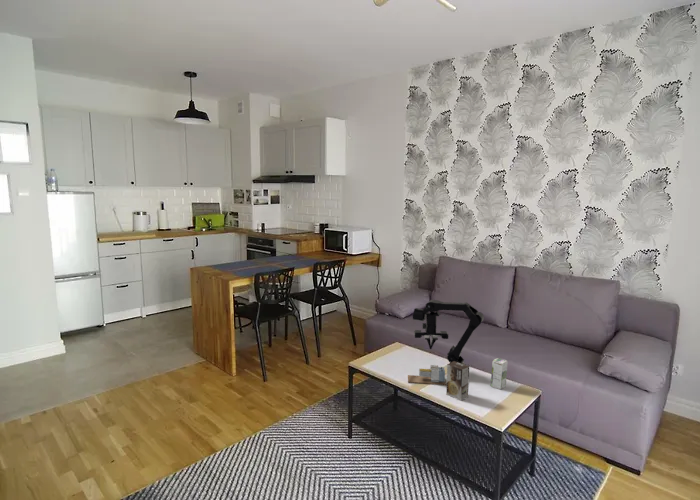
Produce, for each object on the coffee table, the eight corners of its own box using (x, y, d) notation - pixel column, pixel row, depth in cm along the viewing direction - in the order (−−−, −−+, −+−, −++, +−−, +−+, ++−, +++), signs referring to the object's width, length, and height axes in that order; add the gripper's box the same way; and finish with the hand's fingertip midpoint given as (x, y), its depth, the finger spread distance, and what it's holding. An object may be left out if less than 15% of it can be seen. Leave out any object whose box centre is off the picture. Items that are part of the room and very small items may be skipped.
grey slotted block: (431, 381, 223) (431, 370, 222) (430, 376, 229) (430, 365, 228) (438, 382, 222) (439, 370, 221) (437, 376, 229) (438, 365, 228)
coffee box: (468, 397, 209) (470, 366, 206) (461, 401, 204) (462, 369, 202) (453, 390, 215) (454, 360, 213) (445, 394, 211) (446, 363, 209)
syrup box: (495, 383, 224) (497, 357, 222) (506, 386, 220) (507, 360, 218) (490, 386, 220) (491, 360, 218) (501, 390, 216) (502, 363, 214)
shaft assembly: (419, 381, 224) (419, 369, 223) (419, 376, 229) (419, 365, 228) (444, 382, 222) (445, 370, 222) (443, 378, 228) (443, 366, 227)
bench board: (444, 378, 229) (444, 377, 229) (446, 385, 221) (446, 383, 221) (407, 376, 231) (407, 375, 231) (408, 382, 223) (408, 381, 223)
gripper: (446, 318, 244) (445, 344, 246) (413, 317, 245) (413, 343, 247) (449, 324, 233) (447, 351, 235) (415, 323, 234) (414, 350, 236)
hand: (430, 348), depth 238 cm, fingers closed
